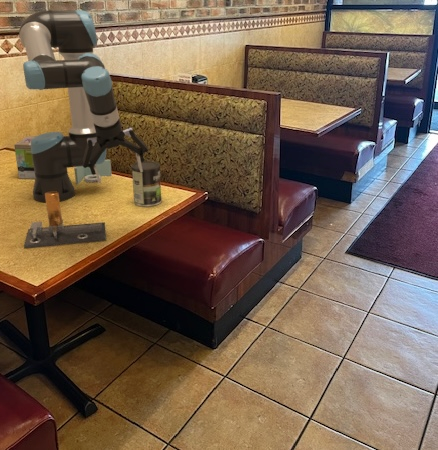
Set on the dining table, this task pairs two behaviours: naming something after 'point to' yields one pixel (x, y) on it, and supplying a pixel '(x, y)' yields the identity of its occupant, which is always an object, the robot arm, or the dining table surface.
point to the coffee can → (146, 184)
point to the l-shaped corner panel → (80, 172)
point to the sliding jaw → (54, 212)
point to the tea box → (25, 158)
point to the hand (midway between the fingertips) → (120, 175)
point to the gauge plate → (64, 235)
